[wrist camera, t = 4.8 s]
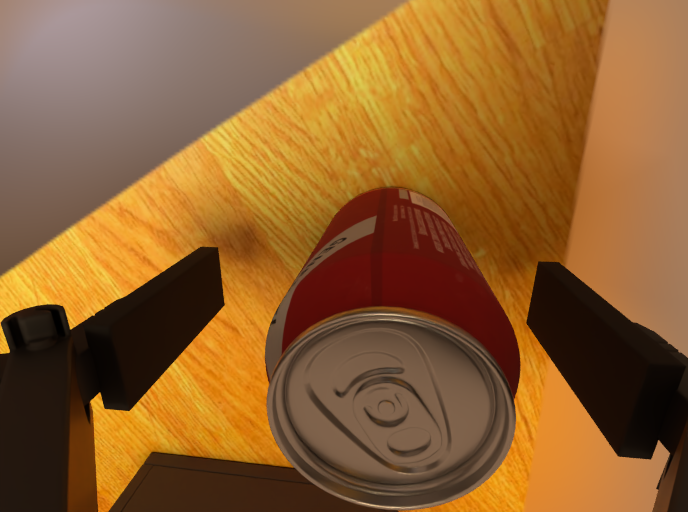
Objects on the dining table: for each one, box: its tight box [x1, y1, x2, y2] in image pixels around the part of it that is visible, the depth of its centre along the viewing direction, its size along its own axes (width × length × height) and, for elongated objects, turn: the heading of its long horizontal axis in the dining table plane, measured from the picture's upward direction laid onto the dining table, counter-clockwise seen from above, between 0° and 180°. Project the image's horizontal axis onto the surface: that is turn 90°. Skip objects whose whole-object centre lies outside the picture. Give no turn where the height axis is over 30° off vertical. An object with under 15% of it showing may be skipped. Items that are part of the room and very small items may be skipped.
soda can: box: [265, 188, 520, 510], centre depth 14 cm, size 7×7×12 cm
